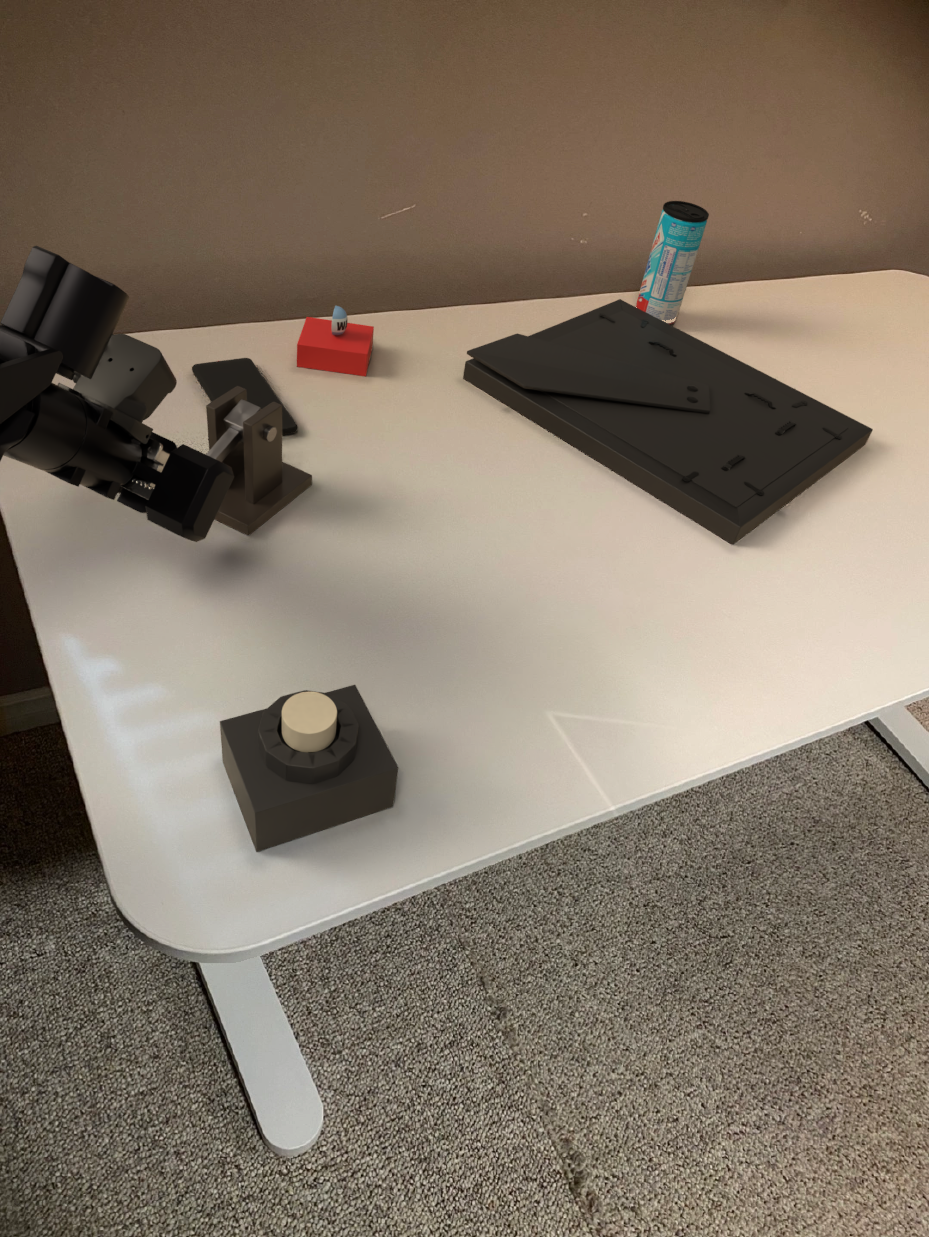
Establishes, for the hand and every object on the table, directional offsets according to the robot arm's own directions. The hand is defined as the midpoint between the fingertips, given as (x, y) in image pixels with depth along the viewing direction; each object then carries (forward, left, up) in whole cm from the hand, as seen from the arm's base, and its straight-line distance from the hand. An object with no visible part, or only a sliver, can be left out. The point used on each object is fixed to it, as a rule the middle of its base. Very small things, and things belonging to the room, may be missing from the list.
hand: (174, 483), depth 79 cm
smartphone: (+4, +24, -7) cm, 25 cm away
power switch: (+3, +4, -2) cm, 5 cm away
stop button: (+11, -26, -1) cm, 29 cm away
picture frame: (+53, +27, -7) cm, 60 cm away
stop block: (+11, -26, -7) cm, 29 cm away
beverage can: (+58, +51, -7) cm, 78 cm away
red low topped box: (+14, +35, -7) cm, 38 cm away
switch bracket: (+5, +8, -7) cm, 12 cm away
